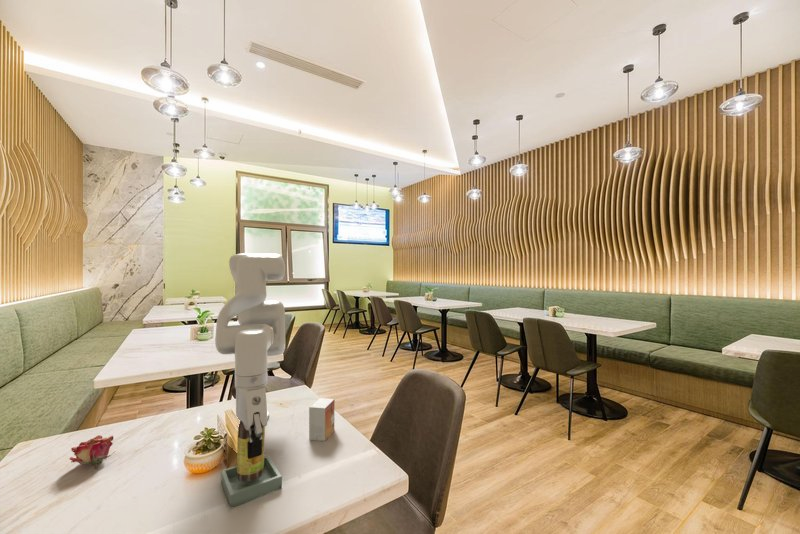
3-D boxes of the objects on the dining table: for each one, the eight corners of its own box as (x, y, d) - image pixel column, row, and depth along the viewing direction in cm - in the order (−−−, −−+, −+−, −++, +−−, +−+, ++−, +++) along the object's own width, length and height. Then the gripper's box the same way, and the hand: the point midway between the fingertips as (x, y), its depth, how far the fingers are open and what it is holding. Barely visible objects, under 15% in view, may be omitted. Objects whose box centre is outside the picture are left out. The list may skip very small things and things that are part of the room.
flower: (123, 456, 94) (120, 428, 97) (82, 467, 86) (80, 436, 89) (103, 470, 96) (100, 442, 99) (61, 482, 88) (60, 451, 91)
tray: (221, 482, 85) (221, 470, 85) (268, 466, 92) (268, 455, 92) (230, 508, 76) (230, 495, 76) (281, 488, 83) (281, 476, 83)
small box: (325, 442, 105) (325, 408, 105) (308, 440, 106) (308, 407, 106) (334, 429, 113) (335, 398, 113) (319, 428, 114) (319, 397, 114)
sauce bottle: (254, 485, 81) (254, 403, 80) (231, 482, 82) (231, 401, 82) (269, 469, 87) (269, 393, 87) (247, 466, 88) (248, 391, 88)
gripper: (277, 385, 80) (276, 461, 80) (257, 368, 93) (257, 432, 94) (243, 393, 75) (243, 472, 75) (228, 373, 89) (228, 440, 89)
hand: (251, 449), depth 84 cm, fingers closed on sauce bottle, 6 cm apart
